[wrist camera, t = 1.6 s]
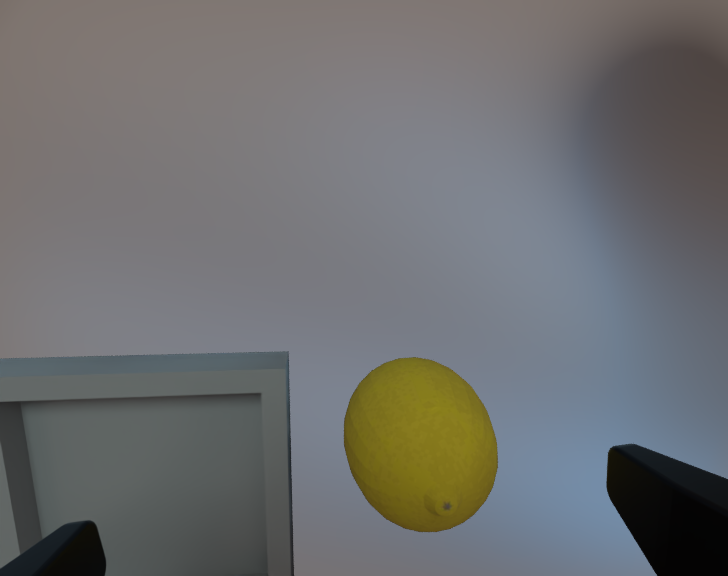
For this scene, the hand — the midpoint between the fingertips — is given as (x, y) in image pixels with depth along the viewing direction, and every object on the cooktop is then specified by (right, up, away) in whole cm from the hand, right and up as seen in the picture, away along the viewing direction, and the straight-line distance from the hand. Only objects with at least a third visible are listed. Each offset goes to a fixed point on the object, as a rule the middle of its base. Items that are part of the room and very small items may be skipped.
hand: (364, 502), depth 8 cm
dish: (-9, -5, +13) cm, 17 cm away
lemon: (+1, -1, +13) cm, 13 cm away
